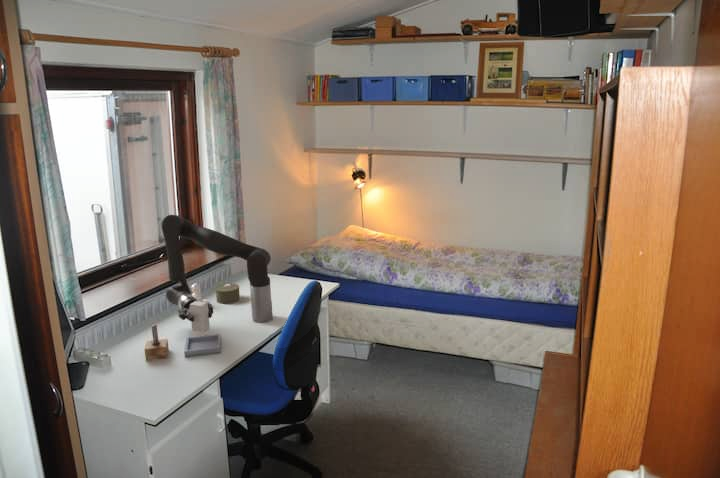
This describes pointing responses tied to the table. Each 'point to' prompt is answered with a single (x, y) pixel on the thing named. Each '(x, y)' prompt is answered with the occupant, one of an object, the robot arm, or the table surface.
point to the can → (227, 293)
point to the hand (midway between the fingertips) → (201, 317)
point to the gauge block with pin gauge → (156, 347)
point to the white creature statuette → (197, 293)
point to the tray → (203, 345)
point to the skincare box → (200, 316)
